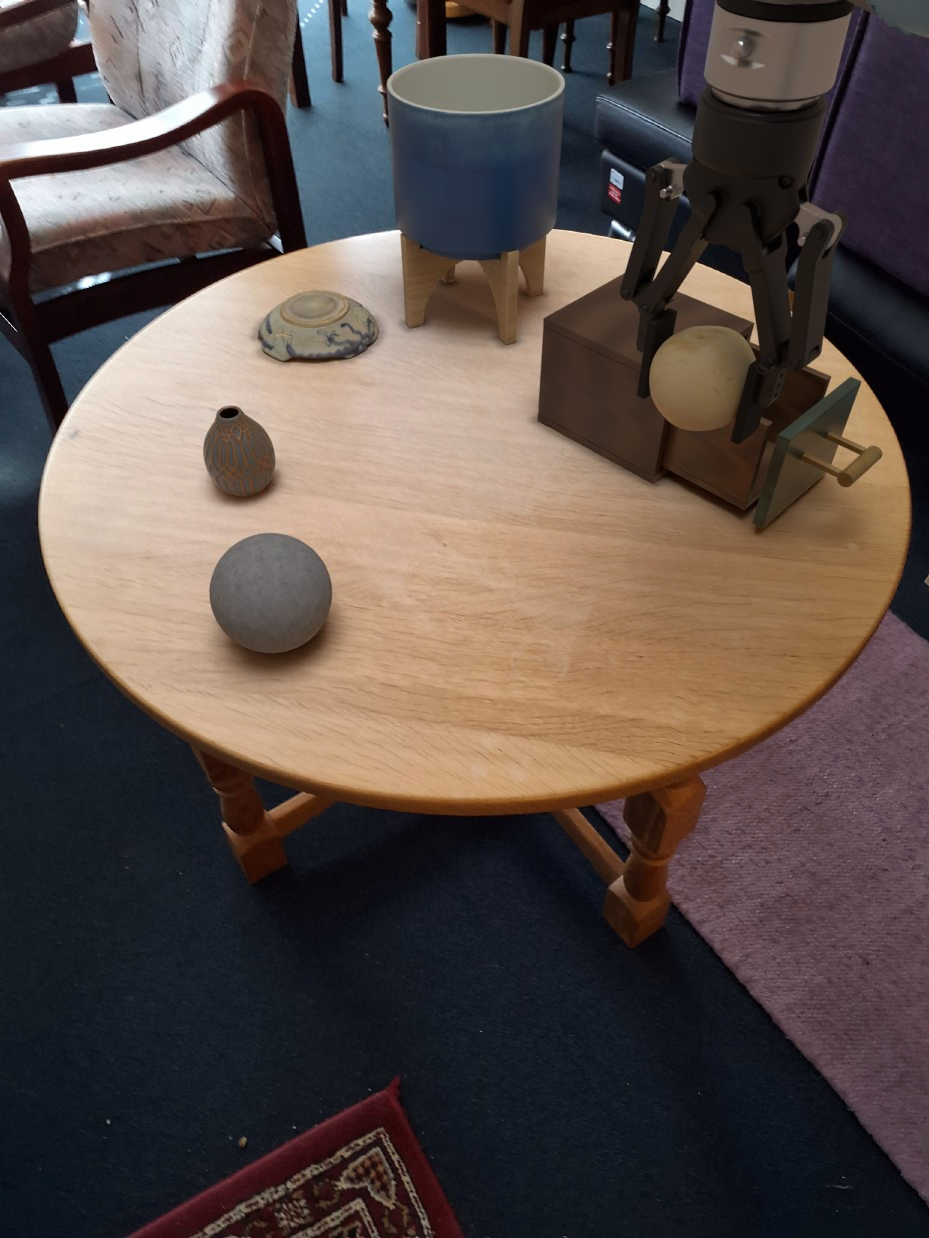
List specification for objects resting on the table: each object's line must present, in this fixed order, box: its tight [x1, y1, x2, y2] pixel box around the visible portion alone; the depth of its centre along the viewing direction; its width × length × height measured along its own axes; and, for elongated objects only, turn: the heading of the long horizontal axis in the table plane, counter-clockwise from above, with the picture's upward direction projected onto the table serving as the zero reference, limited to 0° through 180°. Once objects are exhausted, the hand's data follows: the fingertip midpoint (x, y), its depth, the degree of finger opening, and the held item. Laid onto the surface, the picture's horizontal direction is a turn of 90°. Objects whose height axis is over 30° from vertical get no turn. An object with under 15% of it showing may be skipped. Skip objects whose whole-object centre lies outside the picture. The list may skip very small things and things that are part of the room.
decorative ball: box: [208, 532, 333, 654], centre depth 74 cm, size 10×10×10 cm
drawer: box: [661, 340, 883, 530], centre depth 86 cm, size 20×13×10 cm, turn 45°
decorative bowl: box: [257, 289, 379, 363], centre depth 111 cm, size 15×4×15 cm
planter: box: [386, 53, 566, 345], centre depth 106 cm, size 19×19×26 cm
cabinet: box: [537, 272, 755, 484], centre depth 94 cm, size 16×14×12 cm
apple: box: [649, 326, 756, 431], centre depth 68 cm, size 8×8×8 cm
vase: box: [202, 405, 276, 497], centre depth 89 cm, size 7×7×9 cm
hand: (695, 411), depth 70 cm, fingers closed on apple, 8 cm apart
